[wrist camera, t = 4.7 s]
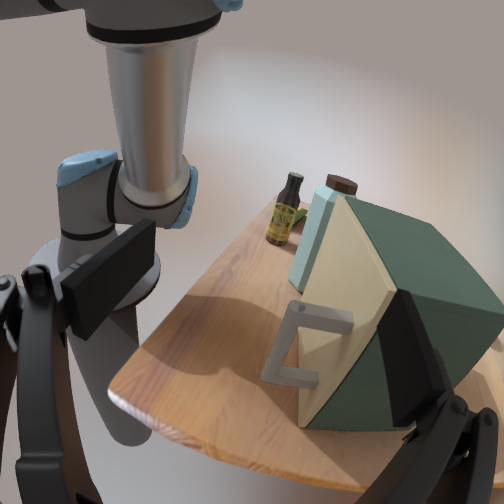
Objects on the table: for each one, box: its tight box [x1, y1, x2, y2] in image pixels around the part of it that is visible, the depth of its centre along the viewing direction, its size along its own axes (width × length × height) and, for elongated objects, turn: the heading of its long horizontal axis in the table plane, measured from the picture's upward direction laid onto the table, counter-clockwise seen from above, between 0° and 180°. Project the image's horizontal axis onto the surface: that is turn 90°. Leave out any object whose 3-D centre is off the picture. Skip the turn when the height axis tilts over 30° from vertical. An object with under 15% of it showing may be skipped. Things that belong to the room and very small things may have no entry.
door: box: [261, 195, 397, 428], centre depth 38 cm, size 8×26×24 cm, turn 174°
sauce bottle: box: [266, 172, 304, 245], centre depth 76 cm, size 7×6×20 cm
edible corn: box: [292, 206, 308, 226], centre depth 96 cm, size 5×20×5 cm, turn 150°
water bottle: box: [288, 174, 358, 293], centre depth 58 cm, size 10×10×25 cm
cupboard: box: [306, 196, 504, 431], centre depth 38 cm, size 18×26×24 cm
